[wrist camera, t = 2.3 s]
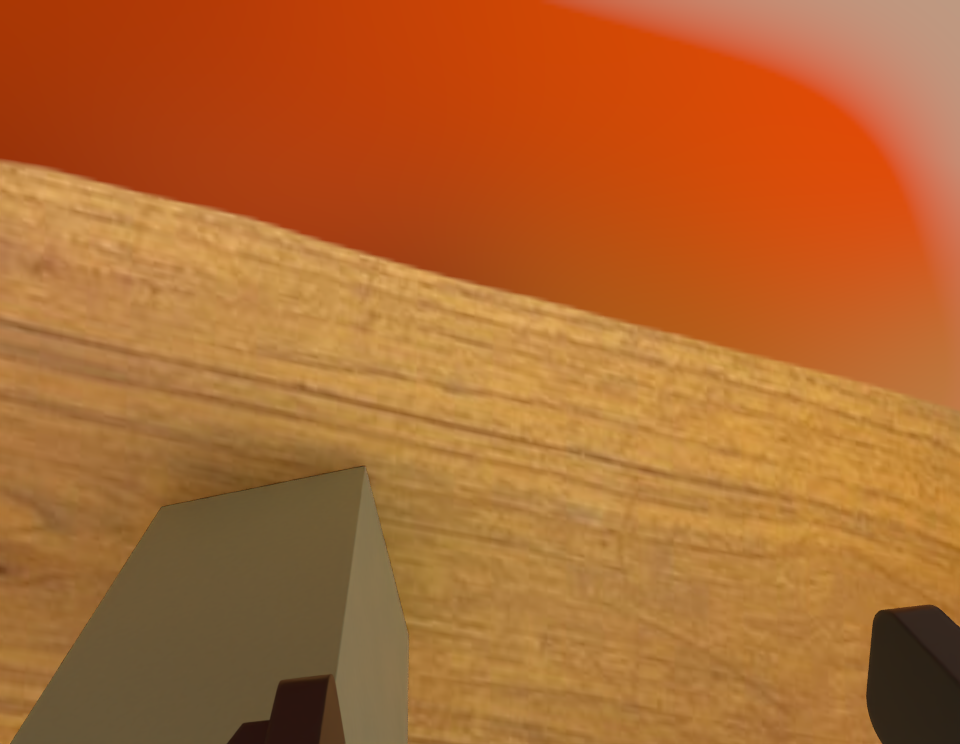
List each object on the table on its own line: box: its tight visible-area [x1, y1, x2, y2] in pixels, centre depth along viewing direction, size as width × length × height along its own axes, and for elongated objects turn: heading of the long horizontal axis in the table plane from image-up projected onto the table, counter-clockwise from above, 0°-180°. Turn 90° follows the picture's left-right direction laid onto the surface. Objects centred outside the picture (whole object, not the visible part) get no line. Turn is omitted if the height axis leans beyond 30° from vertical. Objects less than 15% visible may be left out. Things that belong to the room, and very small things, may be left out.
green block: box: [10, 466, 409, 744], centre depth 30 cm, size 10×10×21 cm
